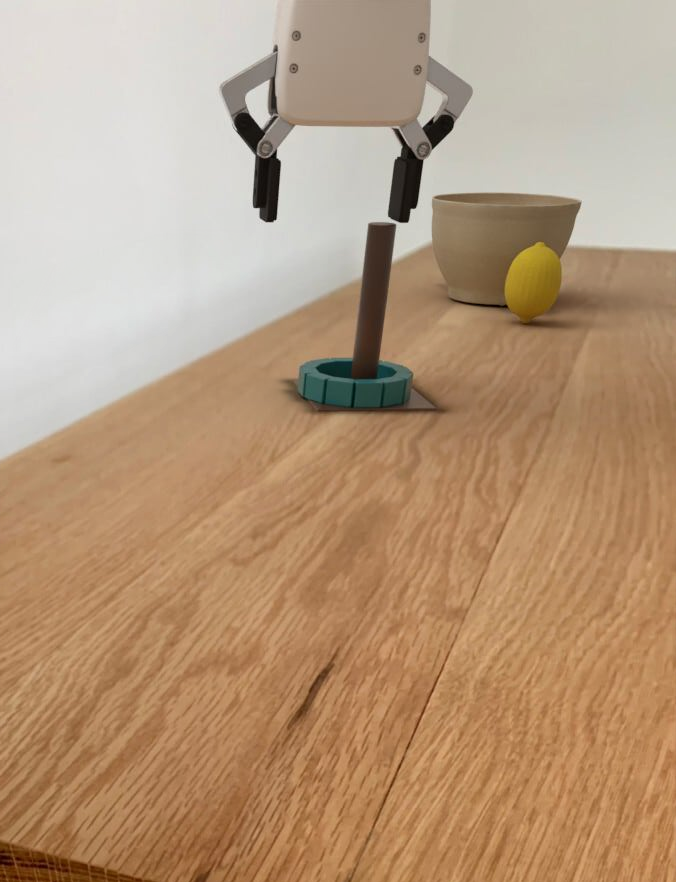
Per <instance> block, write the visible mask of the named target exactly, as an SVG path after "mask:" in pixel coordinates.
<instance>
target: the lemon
mask: <svg viewBox="0 0 676 882" xmlns="http://www.w3.org/2000/svg"><path fill="white" fill-rule="evenodd" d="M562 271H563V267H562V263H561V258H560V259H559V257H558V256H557V254H556V253H555V252H554V251H553V250H551V249H550V248H548V247H546V245H545V244H544V243H543V242H538V243H536V244H535V245H534V246H532V247H529V248H527V249H525V250H524V251H522V252H521V253H520V254H519V255H518V256H517V257H516V258H515V259H514V261H513V262H512V264H511V266H510V269H509V271H508V274H507V278H506V282H505V299H506V303H507V305H506V306H507V307H508V309H509V310H510V312H512V313H513V314H514V315H516V316H517V317H518V318H519V320H520V321H521V322H522V323H523V324H529V323H531V322H532V321H533V320H534V319H535V318H537V317H539V316H542V315H543V314H545V313H547V312H548V311H549V310H550V309H551V308H552V306H554V303H555V302H556V301H557V298H558V295H559V293H560V289H561V286H562V280H563V279H562V277H563V272H562Z"/></svg>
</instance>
